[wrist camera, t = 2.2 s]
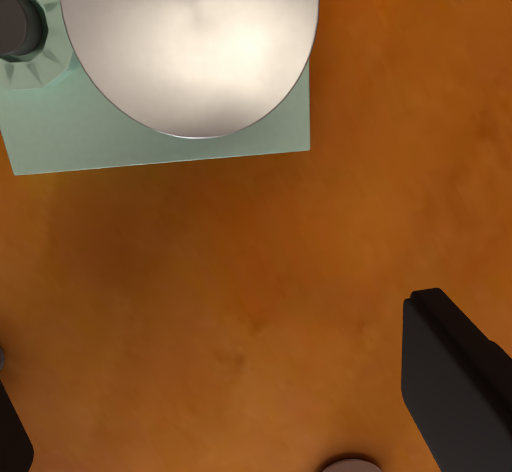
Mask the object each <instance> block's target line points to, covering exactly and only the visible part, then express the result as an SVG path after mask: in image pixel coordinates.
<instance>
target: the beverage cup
mask: <svg viewBox="0 0 512 472" xmlns="http://www.w3.org/2000/svg"><path fill="white" fill-rule="evenodd" d="M4 360H5V358H4V353H3V350H2V348H1V347H0V371H1V369H2V368H3V365H4Z"/></svg>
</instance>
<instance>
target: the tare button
mask: <svg viewBox="0 0 512 472" xmlns="http://www.w3.org/2000/svg"><path fill="white" fill-rule="evenodd" d="M42 35H43V24H42V20H41V17H40V14H39V12H38V10H37V9H36V7H35V6H34V4H33V3H32V2H31V1H30V0H0V55H12V56H21V55H26V54H29V53H31V52H32V51H34V50H35V49H36V48H37V47H38V45H39V44H40V42H41V39H42Z"/></svg>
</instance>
